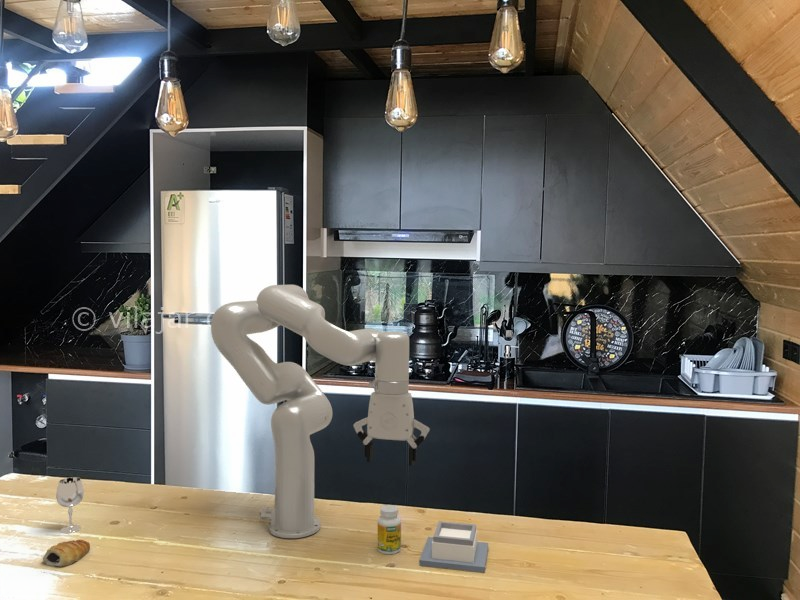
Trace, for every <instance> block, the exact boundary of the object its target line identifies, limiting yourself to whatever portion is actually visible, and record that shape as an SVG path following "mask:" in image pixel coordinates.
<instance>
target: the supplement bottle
mask: <svg viewBox="0 0 800 600" xmlns="http://www.w3.org/2000/svg"><path fill="white" fill-rule="evenodd" d="M379 513H380V515H379V517H378V518H377V551H379V552H380V553H381V554H384V555H394V554H397V553H399V552H400V550H401V549H402V519H401V517H400V516H399V508H398V506H396V505H392V504H390V505H389V504H387V505H383V506H381V507H380V512H379Z"/></svg>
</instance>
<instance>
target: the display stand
mask: <svg viewBox="0 0 800 600" xmlns="http://www.w3.org/2000/svg"><path fill="white" fill-rule="evenodd" d="M425 541H426V542H425V544H424V546H423V550H422V552H421V554H420V557H419V562H418V564H419V565H418V566H420V567H428V568H429V567H430V568H437V569H447V570H455V569H457V570H458V571H464V570H465V571H466V572H473V571H475V572H476V573H482V574H483V573H485V572H486V567H485V566H487V559H488V552H489V542H485V541H478V529H477V524H473V523H462V522H455V521H454V522H451V521H440V520H439V521H438V522H437V525H436V528H435V530H434V534H433V536H428V537H427V539H426V540H425ZM457 570H456V571H457Z"/></svg>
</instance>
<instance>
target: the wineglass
mask: <svg viewBox="0 0 800 600" xmlns="http://www.w3.org/2000/svg"><path fill="white" fill-rule="evenodd" d="M83 498H84V485H83V483H82V479H81V478H80V477H79V476H78V477H73V476H70V477H65V478H62V479H60V480H59V481H58V484H57V488H56V502H57V503H58V505H59V506H61V507H64V508H67V512H68V513H67V514H68V519H69V522H68V525H67V526H64V527H62V528H61V529H60V530H59V531H60V533H61V534H71V533H77V532H78V531H80V530H81V529H82V527H81V526H80V525H77V524H73V522H72V517H73V511H74V510H73V507H75V506H77V505H78V504H80V503H81V502H82V501H83Z"/></svg>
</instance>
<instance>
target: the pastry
mask: <svg viewBox="0 0 800 600" xmlns="http://www.w3.org/2000/svg"><path fill="white" fill-rule="evenodd" d="M90 550H91V544H90V543H89V542H88V541H86V540H84V539H77V540H68V541H63V542H59V543H57V544H55V545H52V546H51V547H50V548H49V549H47V550H46V552H45V553H44V555H43V557H42V562H43V563H44V564H45V565H47V566H50V567H51V566H52V567H60V568H61V567H66V566H67V567H68V566H69V565H72V564H73V563H74V562H78V561H80V560H81V559H83V558H84V557H85V556H86V555H88V553H89V552H90Z"/></svg>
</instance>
